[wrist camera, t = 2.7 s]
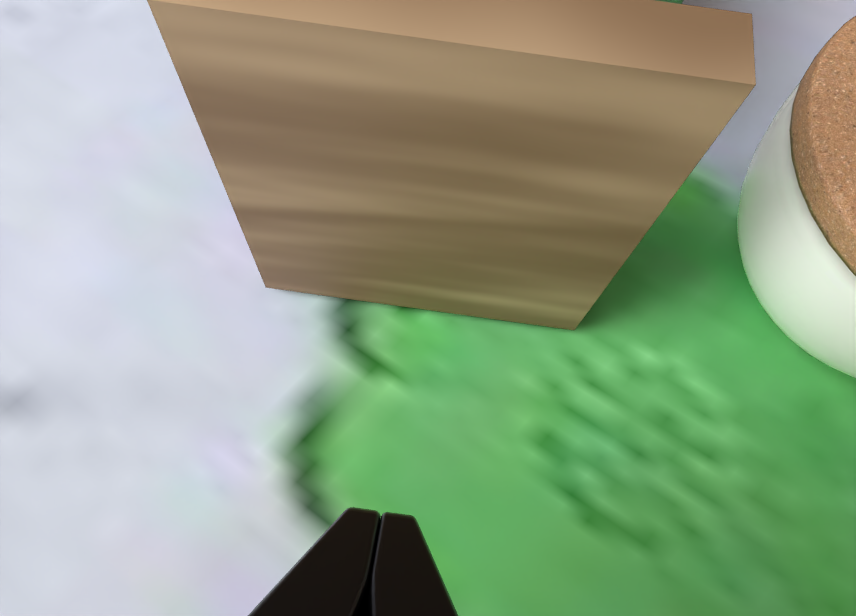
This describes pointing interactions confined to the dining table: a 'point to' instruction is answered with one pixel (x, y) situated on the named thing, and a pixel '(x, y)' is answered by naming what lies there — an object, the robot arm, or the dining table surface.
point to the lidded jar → (808, 209)
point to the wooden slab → (455, 138)
